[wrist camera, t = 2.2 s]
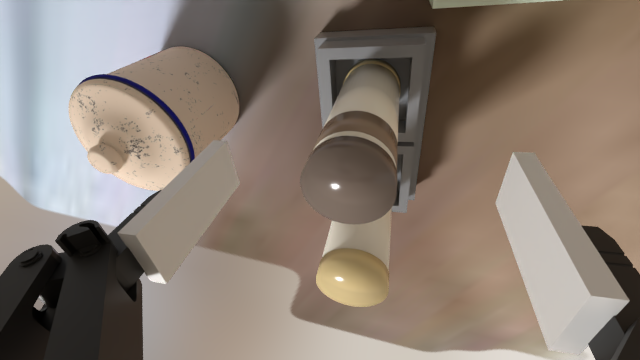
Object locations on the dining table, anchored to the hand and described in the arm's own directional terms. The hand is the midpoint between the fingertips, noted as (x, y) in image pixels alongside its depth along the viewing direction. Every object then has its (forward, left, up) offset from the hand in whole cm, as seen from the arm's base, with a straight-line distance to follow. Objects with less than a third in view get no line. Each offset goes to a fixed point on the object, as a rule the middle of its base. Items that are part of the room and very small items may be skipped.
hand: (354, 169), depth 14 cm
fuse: (+7, 0, -10) cm, 12 cm away
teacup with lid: (+2, -17, -12) cm, 21 cm away
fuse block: (+3, 0, -12) cm, 12 cm away
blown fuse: (0, 0, -10) cm, 10 cm away
